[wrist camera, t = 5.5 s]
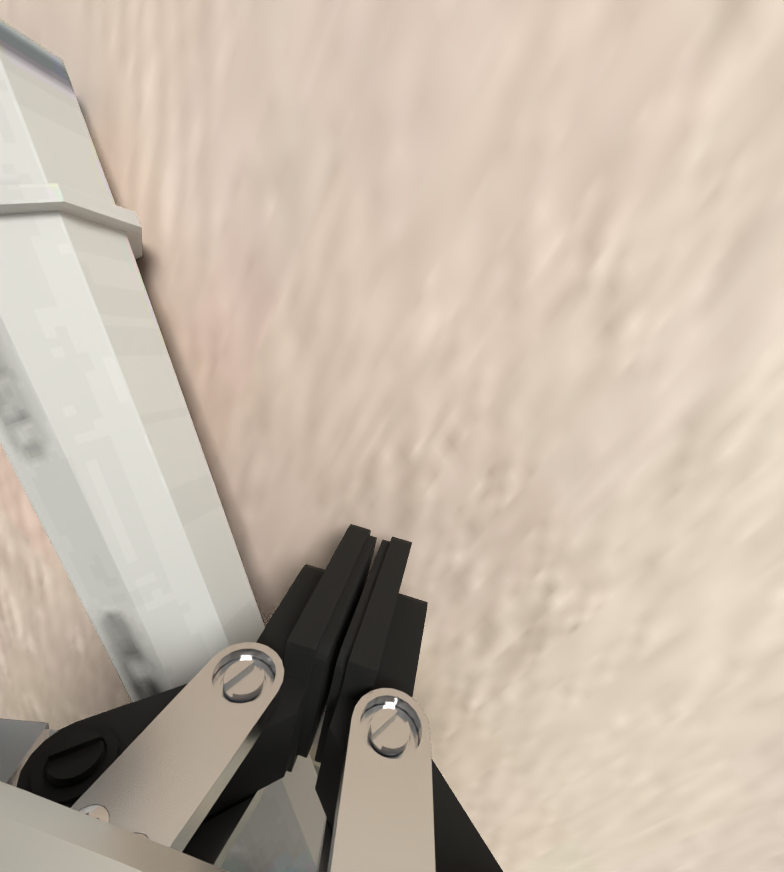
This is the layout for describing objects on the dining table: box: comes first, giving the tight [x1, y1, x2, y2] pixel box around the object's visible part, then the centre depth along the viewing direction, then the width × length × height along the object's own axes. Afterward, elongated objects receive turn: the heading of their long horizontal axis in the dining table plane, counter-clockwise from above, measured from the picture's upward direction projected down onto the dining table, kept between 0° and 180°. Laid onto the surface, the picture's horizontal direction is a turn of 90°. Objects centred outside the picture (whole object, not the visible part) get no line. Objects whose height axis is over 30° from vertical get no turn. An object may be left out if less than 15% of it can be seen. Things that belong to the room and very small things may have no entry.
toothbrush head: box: [0, 19, 326, 872], centre depth 12 cm, size 5×7×25 cm
